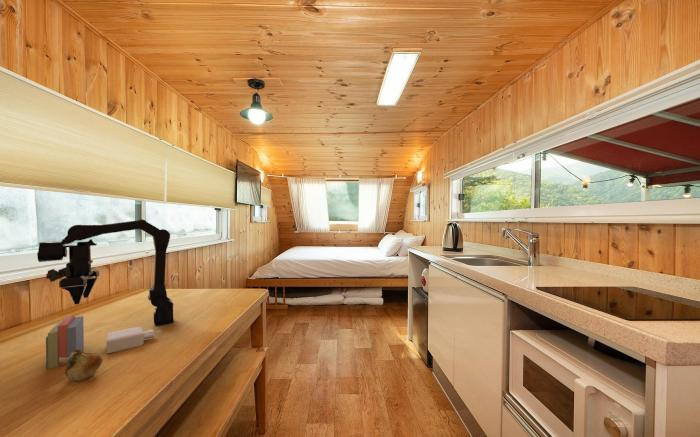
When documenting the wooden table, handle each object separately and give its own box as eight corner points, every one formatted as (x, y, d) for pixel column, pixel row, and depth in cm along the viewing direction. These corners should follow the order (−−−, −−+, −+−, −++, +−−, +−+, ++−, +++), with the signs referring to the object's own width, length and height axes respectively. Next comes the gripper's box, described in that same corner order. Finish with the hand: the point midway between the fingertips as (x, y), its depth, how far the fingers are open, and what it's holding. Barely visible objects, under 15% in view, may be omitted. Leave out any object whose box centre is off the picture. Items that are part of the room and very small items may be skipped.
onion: (76, 388, 72) (76, 357, 72) (56, 383, 75) (56, 353, 75) (109, 372, 80) (108, 344, 80) (90, 368, 82) (89, 341, 82)
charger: (162, 342, 100) (106, 355, 91) (159, 334, 107) (108, 345, 98) (161, 329, 100) (106, 340, 91) (159, 321, 107) (108, 331, 98)
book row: (83, 348, 96) (83, 313, 96) (76, 362, 86) (75, 323, 86) (56, 353, 92) (55, 317, 92) (45, 369, 82) (44, 328, 82)
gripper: (60, 257, 107) (62, 298, 107) (36, 264, 91) (38, 312, 91) (98, 255, 112) (100, 293, 113) (82, 261, 96) (83, 306, 96)
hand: (81, 300), depth 103 cm, fingers open, 9 cm apart
